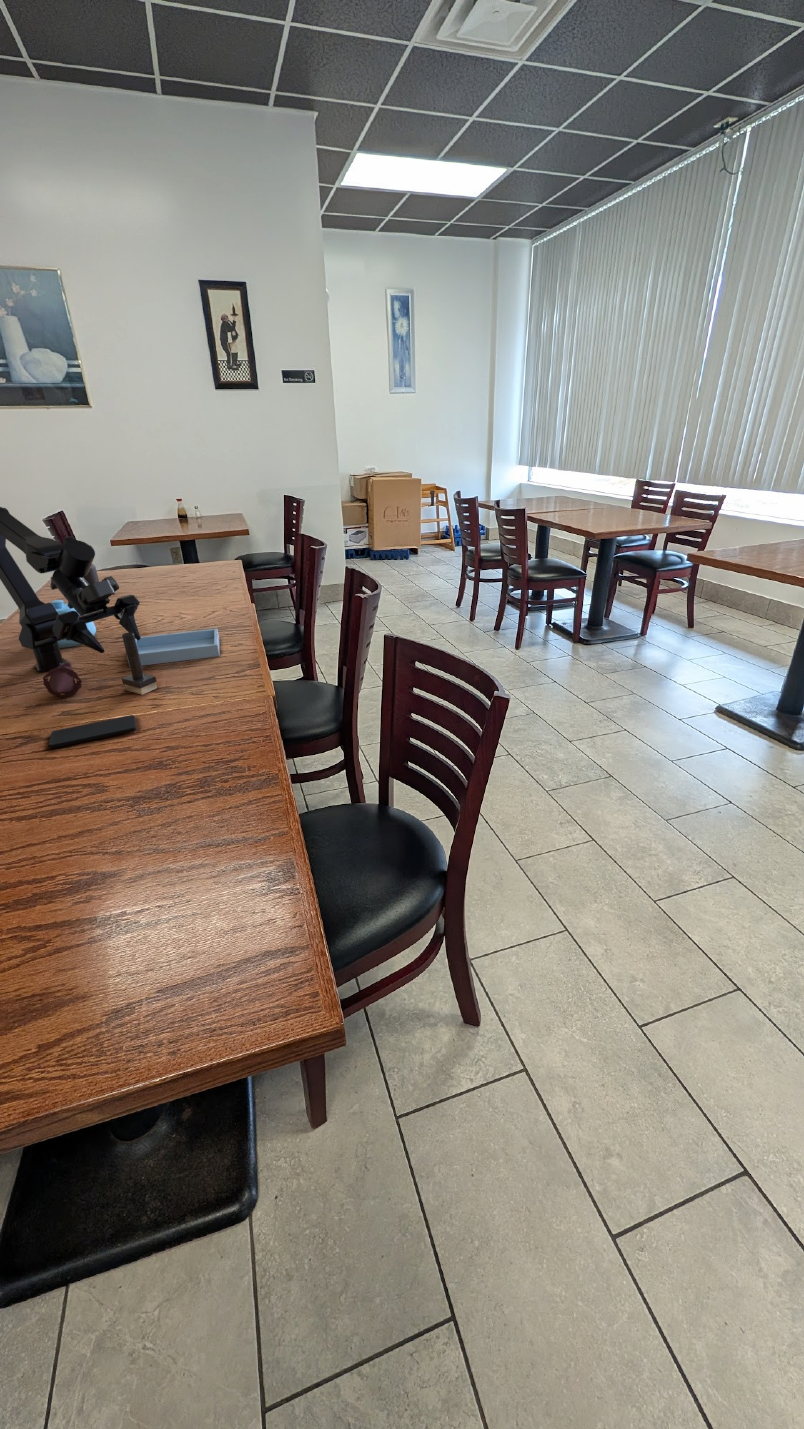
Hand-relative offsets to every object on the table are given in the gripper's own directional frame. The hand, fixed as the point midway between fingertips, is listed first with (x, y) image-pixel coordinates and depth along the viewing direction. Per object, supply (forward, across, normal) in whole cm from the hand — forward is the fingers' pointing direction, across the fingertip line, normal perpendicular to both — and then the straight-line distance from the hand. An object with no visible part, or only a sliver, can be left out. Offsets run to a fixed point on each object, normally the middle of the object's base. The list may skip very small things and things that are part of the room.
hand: (121, 645), depth 129 cm
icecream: (0, -10, +14) cm, 17 cm away
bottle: (-39, +36, +53) cm, 75 cm away
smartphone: (+16, -19, -2) cm, 25 cm away
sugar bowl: (-26, +14, +40) cm, 50 cm away
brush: (+9, 0, +5) cm, 10 cm away
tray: (0, +21, +14) cm, 25 cm away
